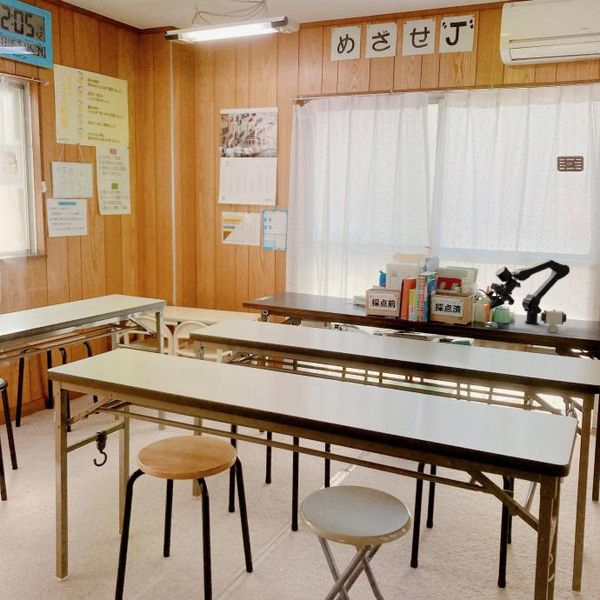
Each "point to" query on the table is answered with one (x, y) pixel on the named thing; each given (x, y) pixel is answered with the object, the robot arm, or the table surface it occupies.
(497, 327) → the hub plate
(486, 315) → the crank
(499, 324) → the stop peg
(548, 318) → the pneumatic valve
